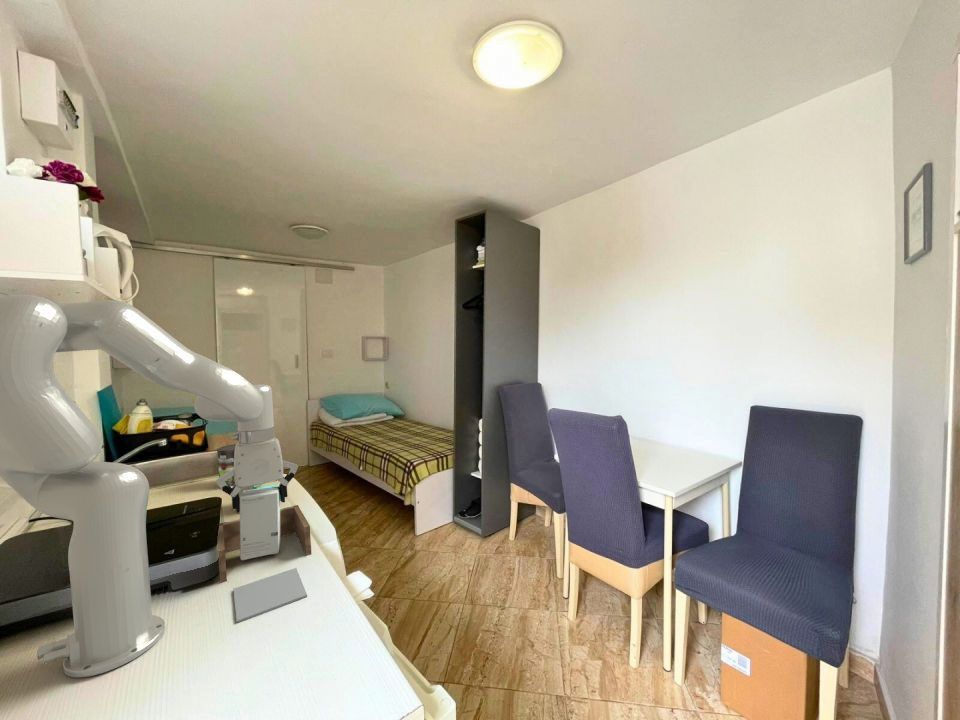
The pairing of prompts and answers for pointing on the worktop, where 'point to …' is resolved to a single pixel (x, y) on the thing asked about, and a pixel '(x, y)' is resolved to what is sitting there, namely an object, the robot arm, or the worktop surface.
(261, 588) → the pad
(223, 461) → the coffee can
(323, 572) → the worktop surface
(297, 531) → the wooden open bay
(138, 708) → the worktop surface
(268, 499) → the skincare box
